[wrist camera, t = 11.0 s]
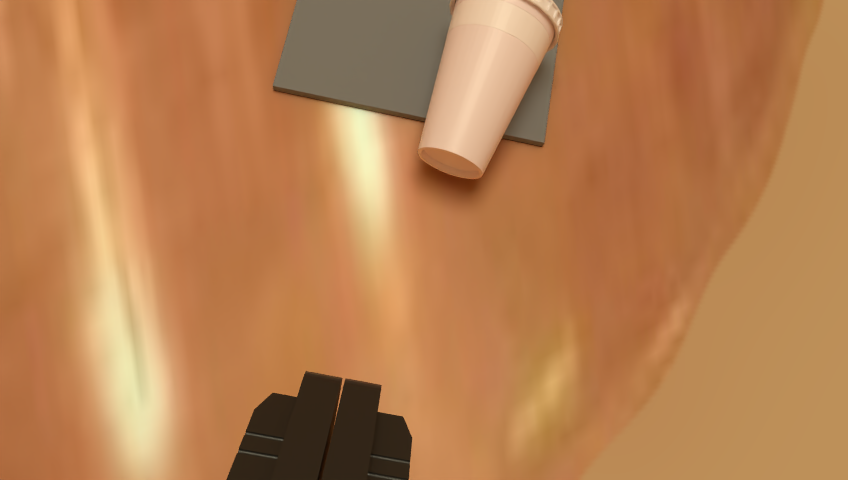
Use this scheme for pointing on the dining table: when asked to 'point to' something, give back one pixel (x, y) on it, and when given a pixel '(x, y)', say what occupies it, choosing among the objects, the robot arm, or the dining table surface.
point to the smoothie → (484, 79)
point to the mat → (388, 60)
